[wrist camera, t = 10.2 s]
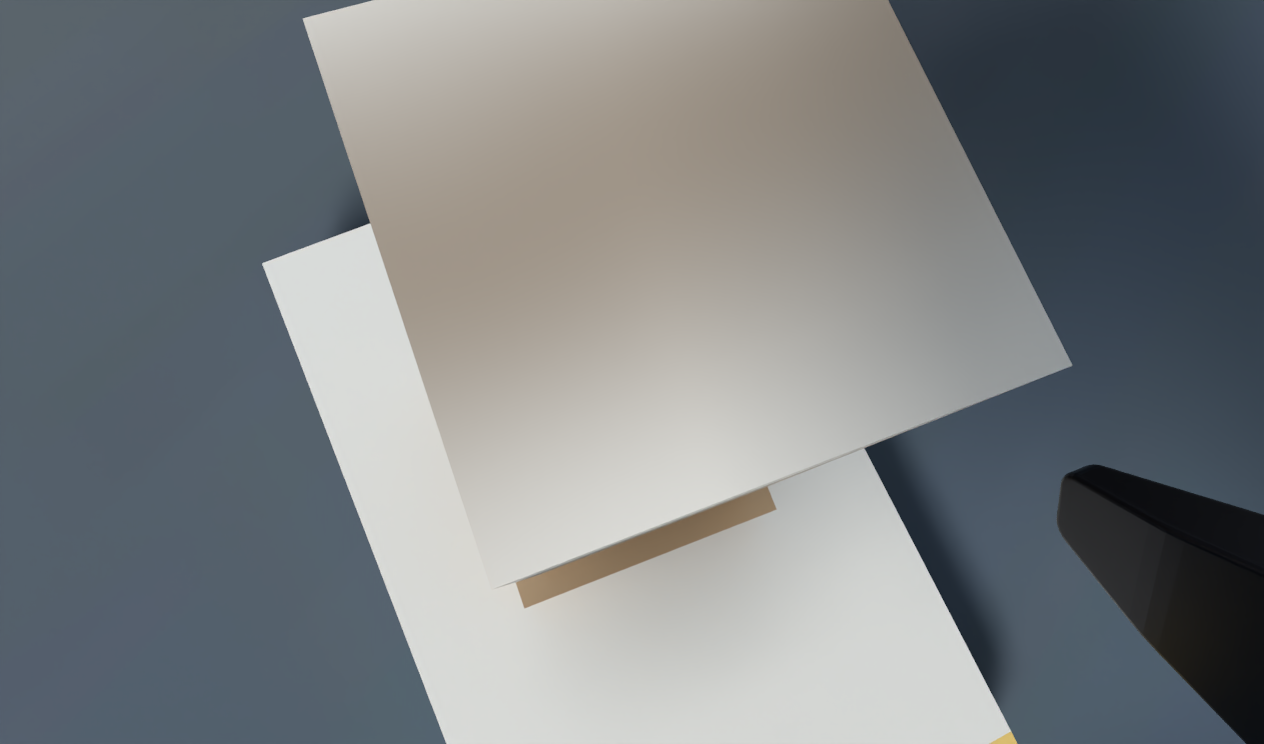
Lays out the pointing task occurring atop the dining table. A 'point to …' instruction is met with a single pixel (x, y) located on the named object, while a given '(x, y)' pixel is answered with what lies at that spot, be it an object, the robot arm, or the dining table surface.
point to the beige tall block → (668, 256)
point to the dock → (630, 580)
